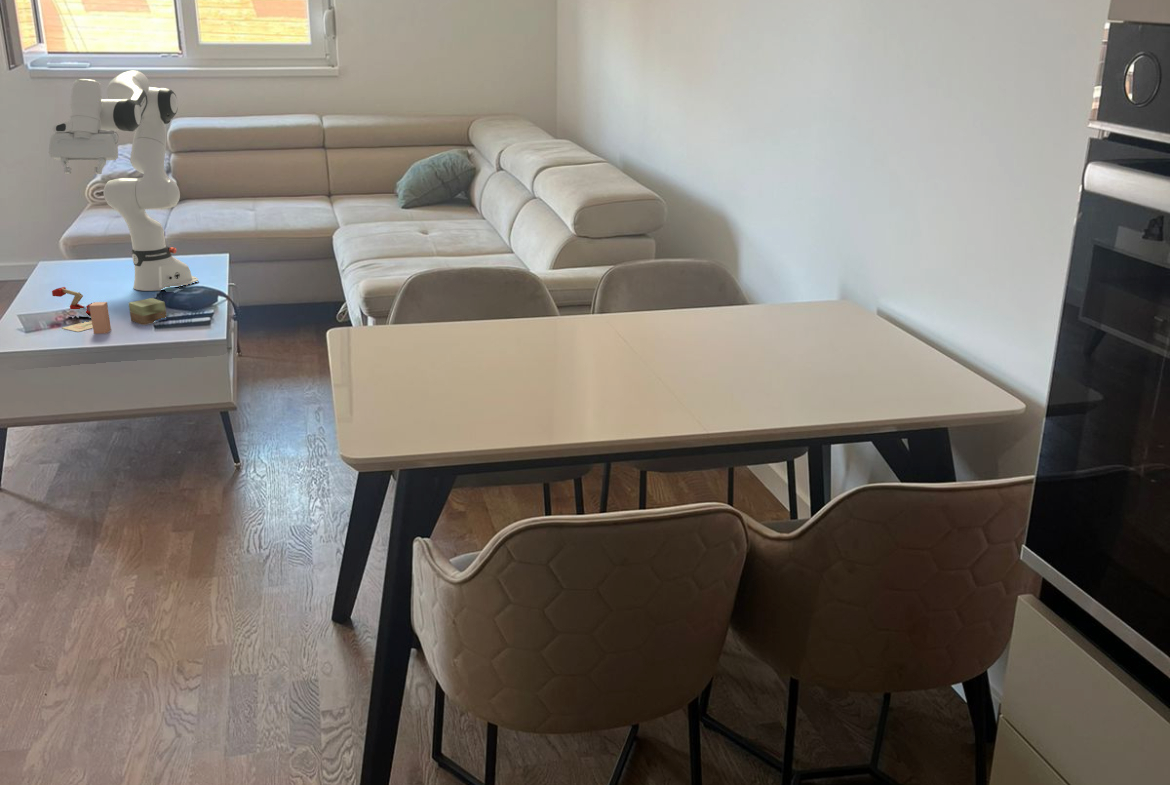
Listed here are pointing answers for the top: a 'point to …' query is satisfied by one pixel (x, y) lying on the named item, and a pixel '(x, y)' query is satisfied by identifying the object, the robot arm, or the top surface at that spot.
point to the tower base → (147, 318)
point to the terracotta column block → (100, 317)
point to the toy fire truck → (76, 299)
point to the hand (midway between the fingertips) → (82, 173)
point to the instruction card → (79, 326)
